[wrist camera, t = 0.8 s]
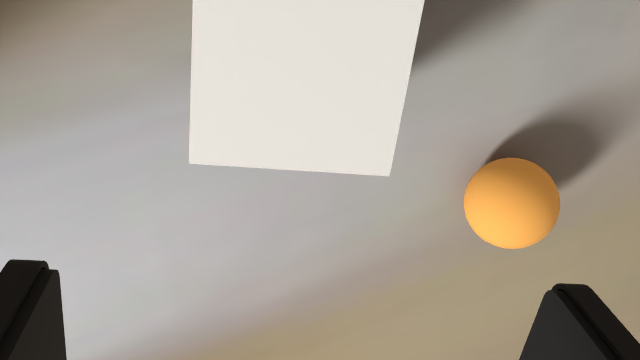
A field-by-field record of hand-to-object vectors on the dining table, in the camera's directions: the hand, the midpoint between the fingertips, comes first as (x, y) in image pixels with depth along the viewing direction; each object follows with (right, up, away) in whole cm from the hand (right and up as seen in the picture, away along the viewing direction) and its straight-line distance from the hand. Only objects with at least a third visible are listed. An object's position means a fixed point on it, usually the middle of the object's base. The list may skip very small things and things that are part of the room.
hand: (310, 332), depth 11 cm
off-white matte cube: (-1, +11, +17) cm, 20 cm away
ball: (+11, +2, +20) cm, 23 cm away
